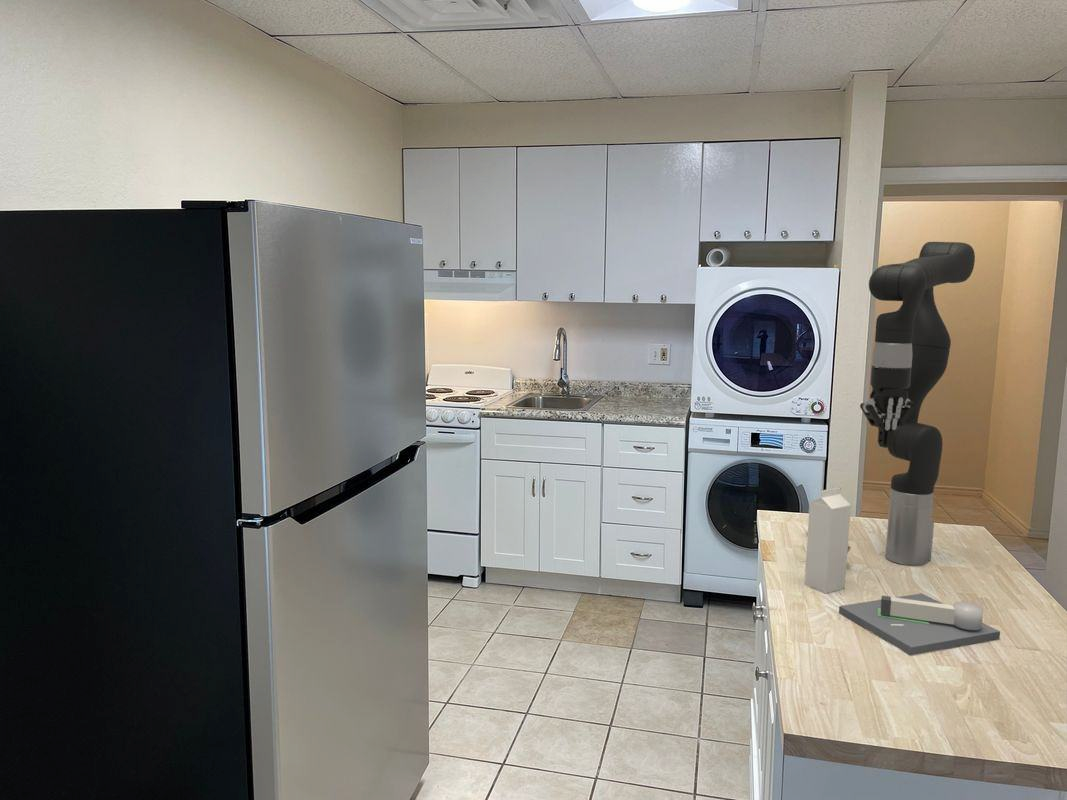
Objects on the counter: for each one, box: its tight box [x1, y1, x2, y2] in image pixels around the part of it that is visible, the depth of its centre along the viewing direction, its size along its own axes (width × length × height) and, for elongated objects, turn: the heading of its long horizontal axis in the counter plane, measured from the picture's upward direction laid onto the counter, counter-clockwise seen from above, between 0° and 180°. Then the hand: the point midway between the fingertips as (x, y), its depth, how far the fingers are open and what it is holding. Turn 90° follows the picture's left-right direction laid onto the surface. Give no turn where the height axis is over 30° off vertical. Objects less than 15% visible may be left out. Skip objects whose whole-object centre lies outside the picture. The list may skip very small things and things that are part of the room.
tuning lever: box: [880, 595, 984, 630], centre depth 154 cm, size 18×5×4 cm, turn 69°
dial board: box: [838, 592, 1001, 656], centre depth 156 cm, size 21×19×2 cm
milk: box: [804, 487, 852, 594], centre depth 174 cm, size 6×6×22 cm
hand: (885, 446), depth 168 cm, fingers closed
